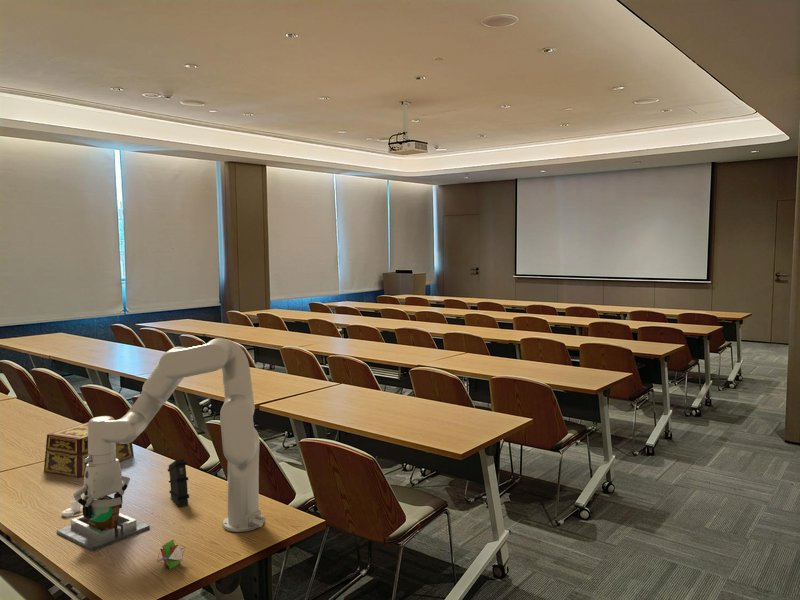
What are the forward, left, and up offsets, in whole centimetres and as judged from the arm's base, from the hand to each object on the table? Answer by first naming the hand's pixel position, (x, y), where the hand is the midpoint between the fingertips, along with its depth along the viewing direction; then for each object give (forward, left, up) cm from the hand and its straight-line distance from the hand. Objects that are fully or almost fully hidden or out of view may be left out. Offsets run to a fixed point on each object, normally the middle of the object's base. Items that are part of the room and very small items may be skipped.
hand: (103, 512), depth 183 cm
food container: (0, +2, -5) cm, 5 cm away
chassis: (0, 0, -6) cm, 6 cm away
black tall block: (+2, -28, -6) cm, 29 cm away
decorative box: (+62, -31, -6) cm, 70 cm away
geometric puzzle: (-35, +1, -6) cm, 36 cm away
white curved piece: (+23, -1, -7) cm, 24 cm away
